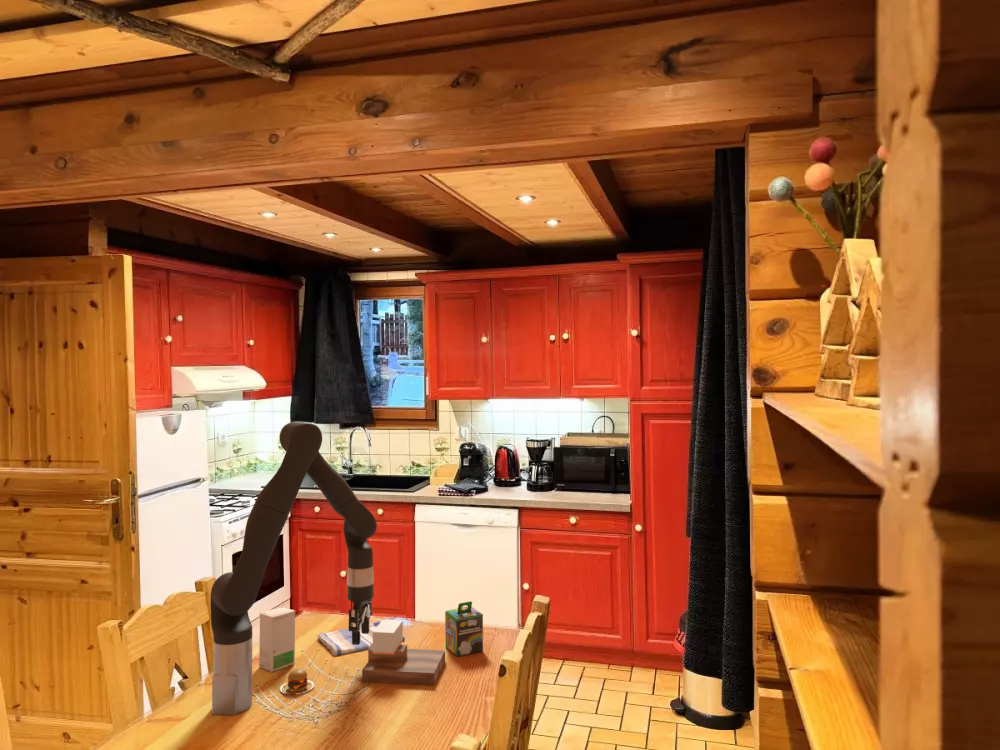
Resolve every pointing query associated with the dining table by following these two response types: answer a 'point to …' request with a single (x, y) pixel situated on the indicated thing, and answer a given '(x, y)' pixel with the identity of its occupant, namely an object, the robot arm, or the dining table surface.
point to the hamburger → (298, 681)
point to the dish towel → (347, 640)
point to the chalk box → (464, 630)
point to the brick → (387, 637)
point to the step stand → (404, 666)
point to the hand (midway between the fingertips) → (360, 638)
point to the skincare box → (277, 639)
